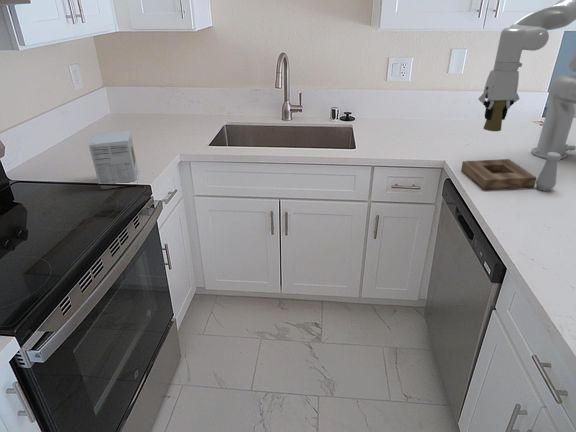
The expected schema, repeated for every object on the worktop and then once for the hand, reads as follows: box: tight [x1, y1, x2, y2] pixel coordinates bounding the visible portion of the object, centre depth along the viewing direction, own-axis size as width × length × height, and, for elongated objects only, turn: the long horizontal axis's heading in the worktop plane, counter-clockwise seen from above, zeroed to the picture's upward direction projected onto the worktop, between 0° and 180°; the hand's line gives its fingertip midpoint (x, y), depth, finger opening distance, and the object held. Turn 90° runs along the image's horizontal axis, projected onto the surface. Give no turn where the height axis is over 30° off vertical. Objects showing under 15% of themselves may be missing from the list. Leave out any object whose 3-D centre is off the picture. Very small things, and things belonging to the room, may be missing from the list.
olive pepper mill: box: [483, 101, 506, 132], centre depth 152 cm, size 6×6×11 cm
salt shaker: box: [535, 152, 562, 192], centre depth 141 cm, size 6×6×13 cm
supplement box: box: [88, 130, 139, 185], centre depth 154 cm, size 13×13×18 cm
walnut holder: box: [460, 158, 538, 192], centre depth 151 cm, size 18×18×4 cm
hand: (494, 118), depth 153 cm, fingers closed on olive pepper mill, 4 cm apart
